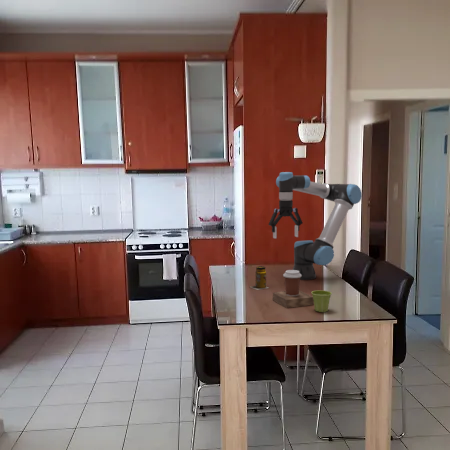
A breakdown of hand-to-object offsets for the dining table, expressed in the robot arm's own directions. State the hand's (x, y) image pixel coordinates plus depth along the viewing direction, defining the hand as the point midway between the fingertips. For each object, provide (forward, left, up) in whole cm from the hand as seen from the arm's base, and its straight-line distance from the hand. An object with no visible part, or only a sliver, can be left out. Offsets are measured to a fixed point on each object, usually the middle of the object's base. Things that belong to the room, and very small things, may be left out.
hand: (285, 237), depth 258 cm
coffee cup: (+11, +29, -25) cm, 40 cm away
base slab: (+11, +29, -29) cm, 42 cm away
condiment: (+14, -5, -29) cm, 33 cm away
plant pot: (+5, +46, -29) cm, 55 cm away
